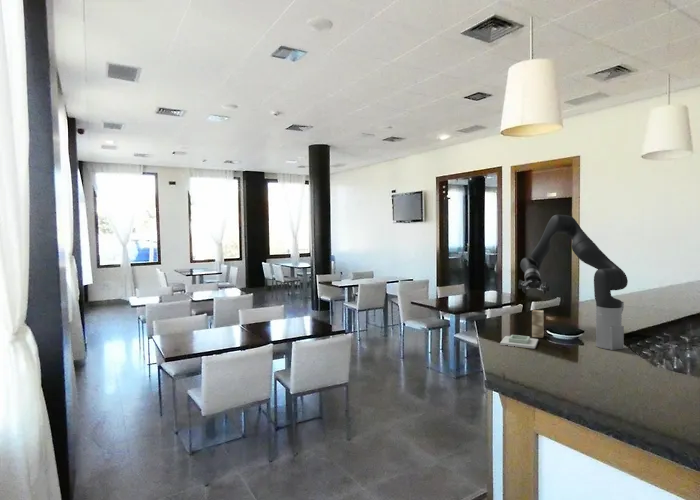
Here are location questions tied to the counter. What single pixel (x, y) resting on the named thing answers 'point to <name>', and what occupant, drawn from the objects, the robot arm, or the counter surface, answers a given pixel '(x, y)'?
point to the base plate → (519, 341)
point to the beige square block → (538, 323)
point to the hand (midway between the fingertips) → (534, 291)
